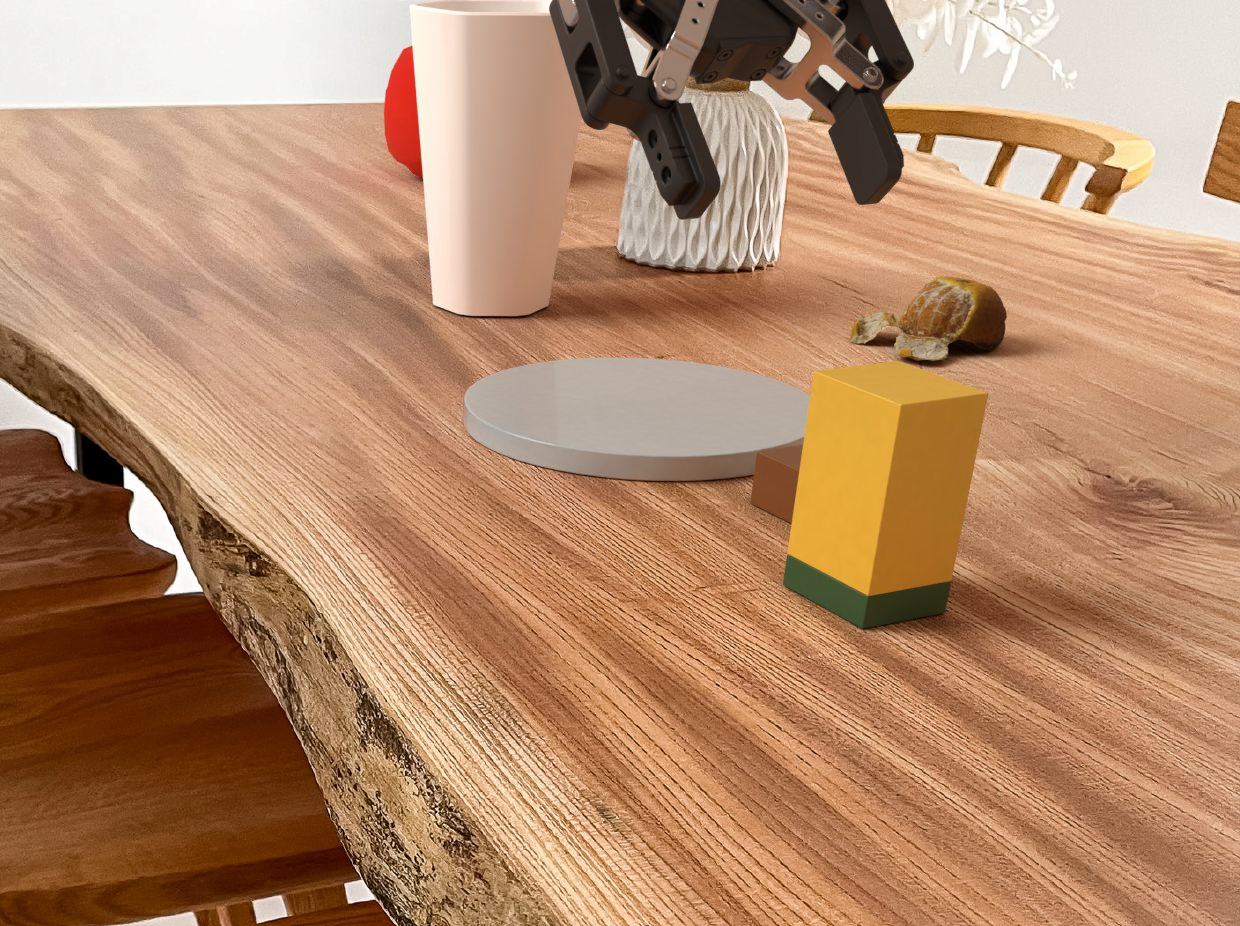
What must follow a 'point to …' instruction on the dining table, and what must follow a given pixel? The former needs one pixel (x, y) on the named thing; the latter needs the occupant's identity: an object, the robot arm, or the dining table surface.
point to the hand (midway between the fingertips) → (794, 199)
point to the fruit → (941, 319)
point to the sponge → (882, 491)
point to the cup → (493, 150)
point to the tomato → (403, 114)
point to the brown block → (777, 480)
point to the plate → (635, 417)
